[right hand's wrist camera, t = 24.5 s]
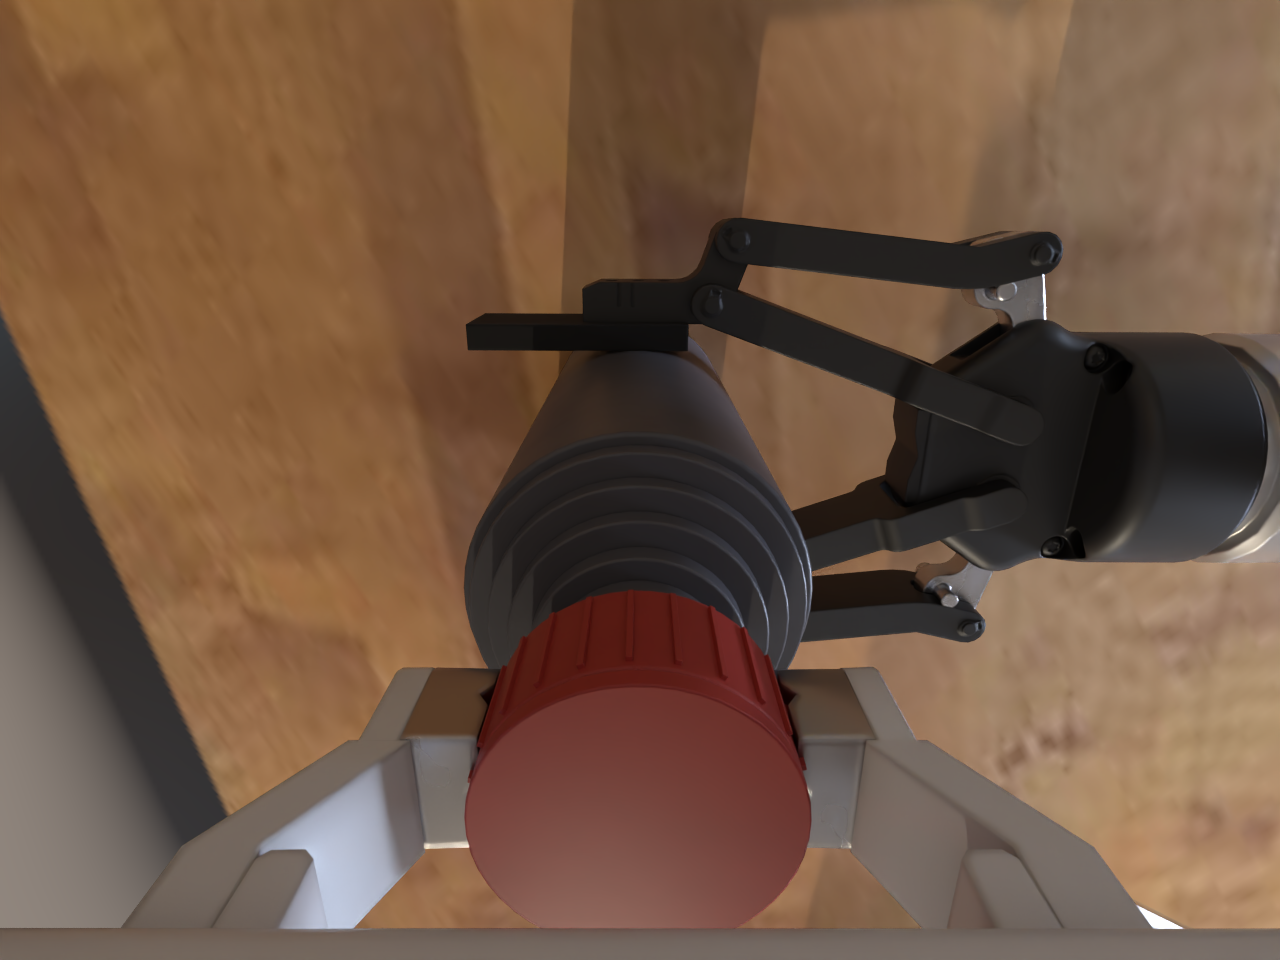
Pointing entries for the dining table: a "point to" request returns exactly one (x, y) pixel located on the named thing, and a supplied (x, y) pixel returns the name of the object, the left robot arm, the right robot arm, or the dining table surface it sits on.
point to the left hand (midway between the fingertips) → (487, 445)
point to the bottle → (638, 507)
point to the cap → (637, 771)
